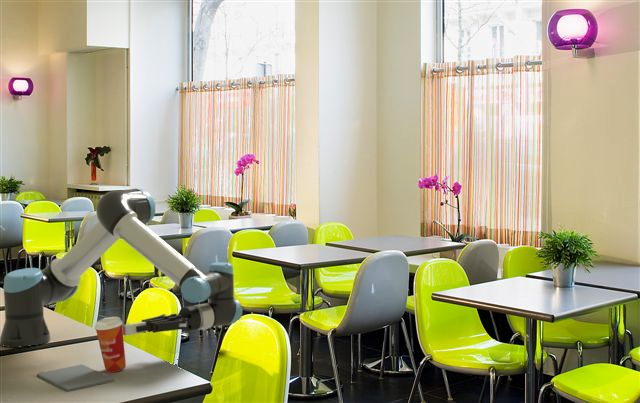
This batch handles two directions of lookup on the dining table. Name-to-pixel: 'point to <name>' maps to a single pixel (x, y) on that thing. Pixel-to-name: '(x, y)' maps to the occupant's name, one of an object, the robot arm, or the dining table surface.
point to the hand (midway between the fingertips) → (124, 330)
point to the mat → (75, 377)
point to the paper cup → (111, 343)
